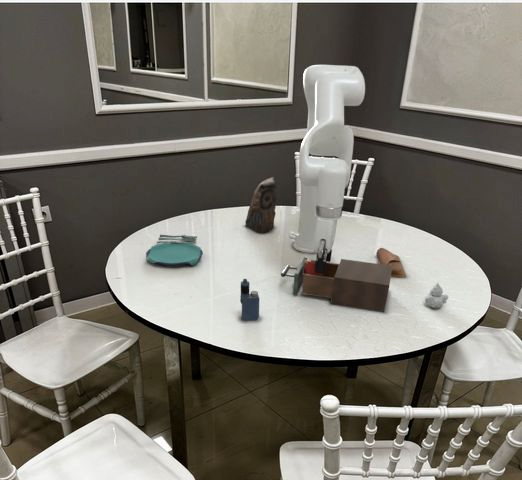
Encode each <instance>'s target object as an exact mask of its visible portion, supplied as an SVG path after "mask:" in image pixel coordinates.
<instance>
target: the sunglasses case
mask: <svg viewBox="0 0 522 480" xmlns="http://www.w3.org/2000/svg"><path fill="white" fill-rule="evenodd" d="M376 258H377V260H378V264H383V265H390V266H392V272H391V278H405V277H406V273H405V270H404V267H403V265H402V262H401V259H400V256H399V255H397V254H394V253H393V252H391V251H389V250H388V249H386V248H384V247H380V248H378V249H377V251H376Z"/></svg>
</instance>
